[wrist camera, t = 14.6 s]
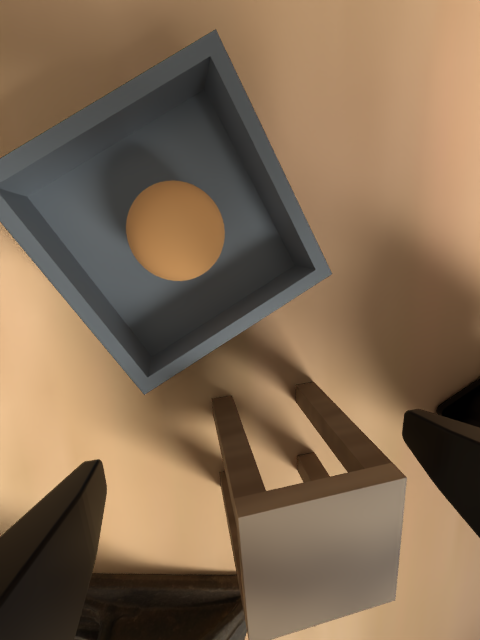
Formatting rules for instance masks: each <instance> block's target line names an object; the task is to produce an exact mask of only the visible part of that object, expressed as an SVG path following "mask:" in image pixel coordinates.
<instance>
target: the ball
mask: <svg viewBox="0 0 480 640" xmlns="http://www.w3.org/2000/svg"><path fill="white" fill-rule="evenodd" d="M126 234H127V240H128V243H129V247H130V249H131V251H132V253H133V255H134V256H135V258H136V259H137V261H138V262H139V263H140V264H141V265H142V266H143V267H144V268H145V269H146V270H148V271H149V272H150V273H152V274H154V275H155V276H158V277H160V278H163V279H166V280H172V281H185V280H190V279H193V278H196V277H198V276H200V275H202V274H204V273H205V272H207V271H208V270H209V269H210V268H211V267H212V266H213V265H214V264H215V262H216V261H217V259H218V258H219V256H220V254H221V251H222V248H223V245H224V239H225V229H224V223H223V219H222V216H221V213H220V211H219V209H218V207H217V205H216V204H215V202H214V201H213V200H212V199H211V198H210V196H209V195H207V194H206V193H205V192H204V191H203V190H201V189H200V188H198V187H196V186H194V185H192V184H190V183H187V182H183V181H175V180H171V181H163V182H159V183H156V184H153V185H151V186H149V187H148V188H146V189H145V190H143V191H142V192H141V193H140V194H139V195H138V196H137V198H136V199H135V200H134V202H133V203H132V205H131V207H130V210H129V212H128V216H127V221H126Z"/></svg>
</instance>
